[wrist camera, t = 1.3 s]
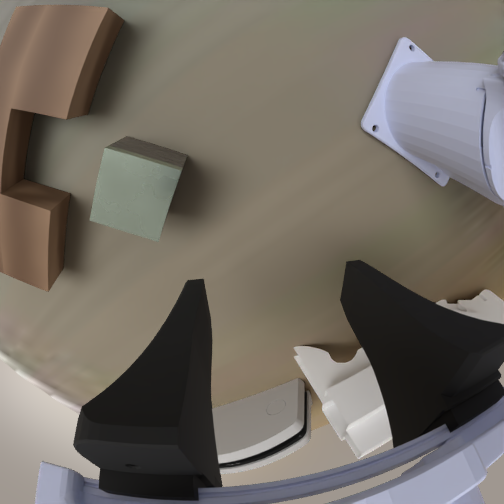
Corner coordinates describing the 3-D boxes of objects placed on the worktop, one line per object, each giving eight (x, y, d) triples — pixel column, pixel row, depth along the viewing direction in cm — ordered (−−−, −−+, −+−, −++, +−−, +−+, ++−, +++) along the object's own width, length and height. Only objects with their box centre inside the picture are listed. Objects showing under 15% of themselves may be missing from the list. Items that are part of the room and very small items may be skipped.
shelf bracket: (292, 332, 25) (367, 445, 15) (456, 257, 31) (524, 308, 20) (293, 367, 28) (353, 465, 18) (446, 289, 34) (506, 341, 23)
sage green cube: (187, 154, 16) (181, 170, 13) (167, 212, 18) (158, 241, 15) (127, 136, 15) (105, 147, 12) (111, 195, 17) (89, 220, 13)
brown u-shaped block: (124, 20, 11) (108, 7, 9) (63, 268, 19) (48, 291, 16) (39, 14, 9) (16, 6, 6) (-2, 243, 17) (-20, 262, 14)
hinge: (199, 431, 34) (186, 486, 24) (180, 409, 33) (161, 466, 23) (313, 393, 32) (327, 454, 22) (299, 368, 31) (310, 431, 21)
